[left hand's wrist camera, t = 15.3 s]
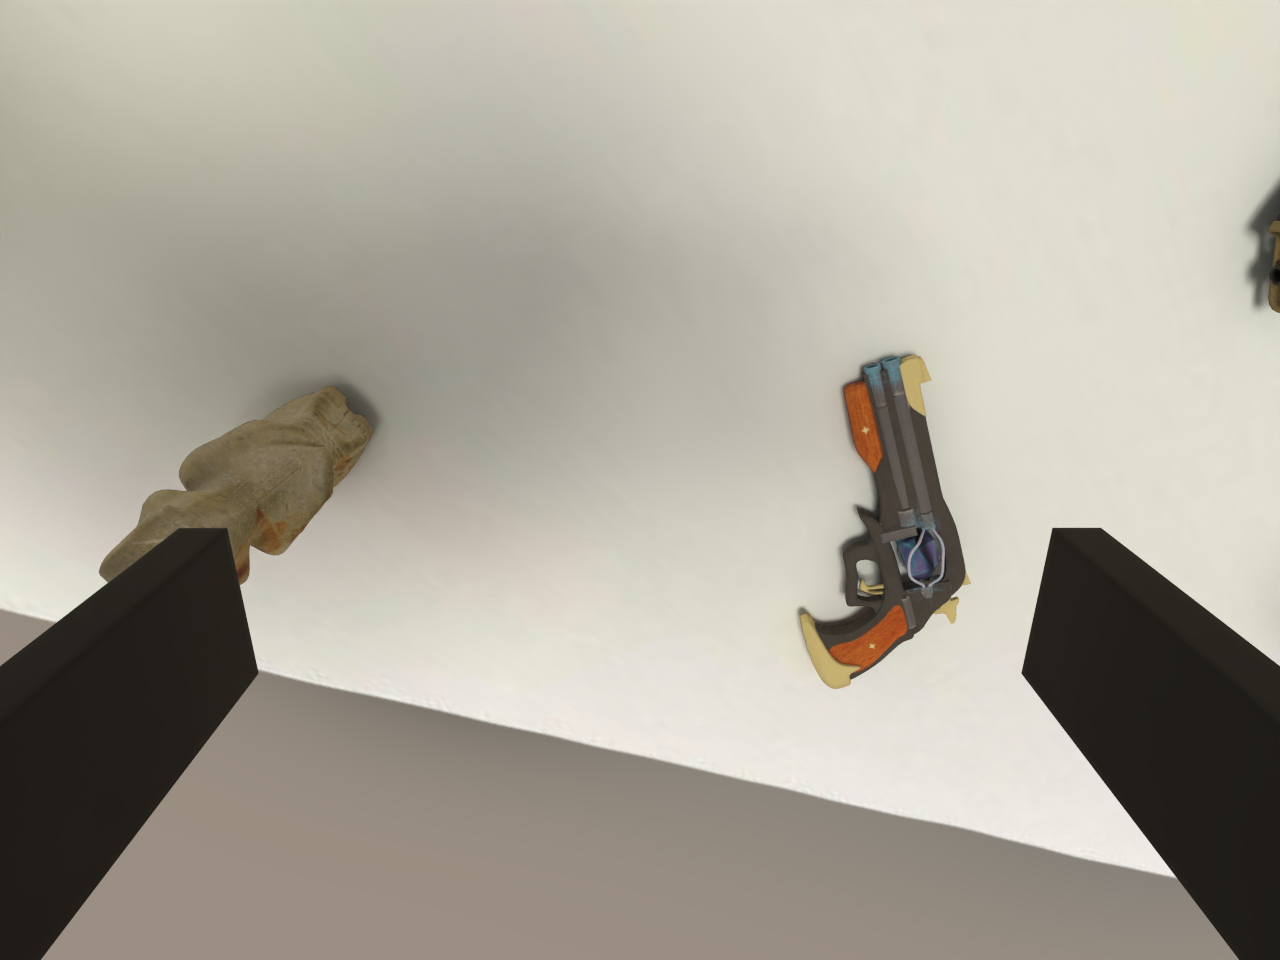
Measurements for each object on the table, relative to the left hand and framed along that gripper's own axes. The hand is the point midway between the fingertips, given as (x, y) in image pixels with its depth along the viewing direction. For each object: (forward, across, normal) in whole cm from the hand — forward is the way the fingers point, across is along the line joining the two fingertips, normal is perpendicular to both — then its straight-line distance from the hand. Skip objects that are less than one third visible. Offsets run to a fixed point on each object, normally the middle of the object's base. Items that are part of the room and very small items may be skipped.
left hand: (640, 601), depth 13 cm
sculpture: (+30, +18, +7) cm, 36 cm away
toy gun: (+30, -13, +13) cm, 35 cm away
